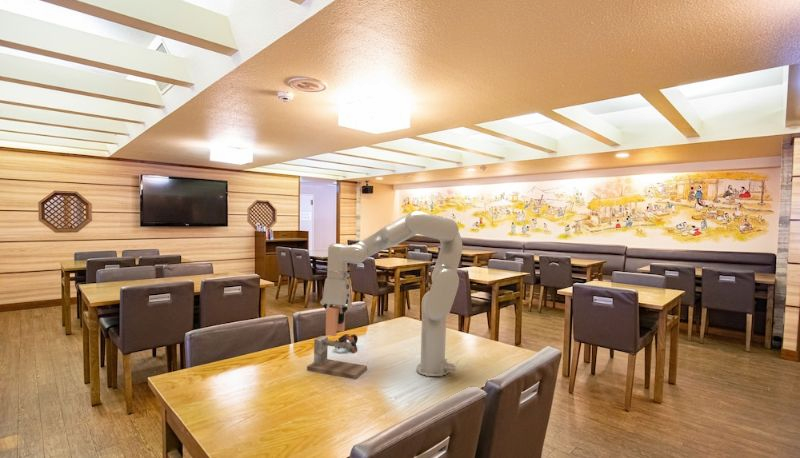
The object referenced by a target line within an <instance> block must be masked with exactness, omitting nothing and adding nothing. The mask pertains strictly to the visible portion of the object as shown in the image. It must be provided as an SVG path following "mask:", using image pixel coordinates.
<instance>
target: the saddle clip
mask: <svg viewBox="0 0 800 458" xmlns="http://www.w3.org/2000/svg"><path fill="white" fill-rule="evenodd" d="M325 311H326V312H325V335H326V336H330V337H336V336H337V335H338V334H337V333H338V332H342V333H344V332H345V330H346V327H345V326H346V312H345V313H344V322H343V323H341V324H338V317H339V313H340V310H339V306H338V305H333V306H332V307H330V308H327V309H325Z"/></svg>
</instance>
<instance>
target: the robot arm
mask: <svg viewBox="0 0 800 458" xmlns="http://www.w3.org/2000/svg"><path fill="white" fill-rule="evenodd" d="M417 235H420V236H423V237H427V238H431V239H435V240H439V243H440V249H439V253H438V256H437V259H436V262H435V265H434V268H433V271H432V273H431V281H432V282H431V286H430V289H429V291H427V292H425V294H424V295H423V297H422V298H421V299H422V300H421V335H420V336H421V338H420V363H419V364H417V366H416V368H415V369H416V370H415V371H416V372H417V373H418V374H420V375H421V374H422V376H424V375H425V377H429V376H441V377H444V376H443V375H445V376H447V375H448V374H449V372H450V371H451V372H456V370H457V369H456V368H457V367H456V365H454V363H449V362H448V360H447V359H448V358H446V338H447V337H446V336H447V317H448V316H449V315H450V313H451V309H452V307H453V304H454V300H455V299H456V295H457V292H458V289H459V284H460V278H459V275H458V273H457V272H458V268H459V265H460V261H461V257H462V254H463V242H462V241H463V240H462V236H461V234H460V231H459V226H458V224H457V222H456V221H455V220H453V219H451V218H448V217H443V216H439V215H436V214H432V213H429V212H425V211H422V210H415V211H412V212H409V213H407V214H406V215H404V216H402V217H400V218H398V219H397V220H394V221H393V222H391V223H389V224H387V225H386V226H384V227H382V228H380V229H379V230H378V231H375V232H374V233H373V234H371V235H369V236H368V237H366V238H363V239H362V240H359V241H358V242H356V243H354V244H344V243H331V244H329V245H328V248H327V271H326V272H327V273H326V274H327V275H326V278H325V281H324V285H323V286H324V287H323V293H322V298H321V300H320V301H319V304H320V305H321V306H322V307H323V308H324V310H326V309H327V308H330V307H332V306H335V305H338V306H339V310H340V313H339V317H338V324H341V323H343V322H344V313H345V314H346V312H347V311H348V310H349V309H351V308H352V307H353V306H354V304H353V303H352V301H351V284H350V280H349V279H348V278H350V277H351V274H350V273H348V264H354V265H358V264H359V265H360V264H362V263H364V261H366V259H368V258H369V257H372V256H374V255H376V254H377V253H380V252H382V251H385V250H386V249H391V248H392V247H396V246H397V245H399V244H401V243H403V242H405V241H407V240H409V239H411V238H413V237H414V236H417ZM447 373H448V374H447ZM446 374H447V375H446Z"/></svg>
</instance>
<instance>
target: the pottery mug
mask: <svg viewBox="0 0 800 458" xmlns="http://www.w3.org/2000/svg"><path fill="white" fill-rule="evenodd" d="M358 339H359V338H358V336H357V334H355V333H353V334H351V335H349V334H348V333H345V334H343V335H342V336H340V337H338V339H336V340H335V341H337V342H343V343H347V342H350V343H351V344H352V347H351V349H350V350H351V351H352V354H355V353H356V352H357V350H358V346H357V343H358ZM334 348H335V349H338V350H339V349H340V347H334Z"/></svg>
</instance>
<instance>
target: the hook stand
mask: <svg viewBox="0 0 800 458" xmlns="http://www.w3.org/2000/svg"><path fill="white" fill-rule="evenodd" d="M328 338H329V337H328V336H324V335H320V336H318V337H316V338H315V339H314V342H313V343H314V344H313V362H312V363H310V364H309V365H307V366H306V371H307V372H308V371H310V372H314V373H320V374H326V375H331V376H336V377H341V378H346V379H352V380H353V379H354V380H357V379H358V378H359V377H360V376H361V375H363V374H364V373H365V372H366V371H368V365H364V364H357V363H352V362H347V361H341V360H334V359H329V358H328V347H334V348H335V347H340V348H341V349H345V350H347V351H349V350H351V349H352V348H353V346H352V344H351V343H350V342H349V341H347V343H343V342H337V341H338V340H337V341H336V340H329V339H328ZM340 348H339V349H340Z"/></svg>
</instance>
